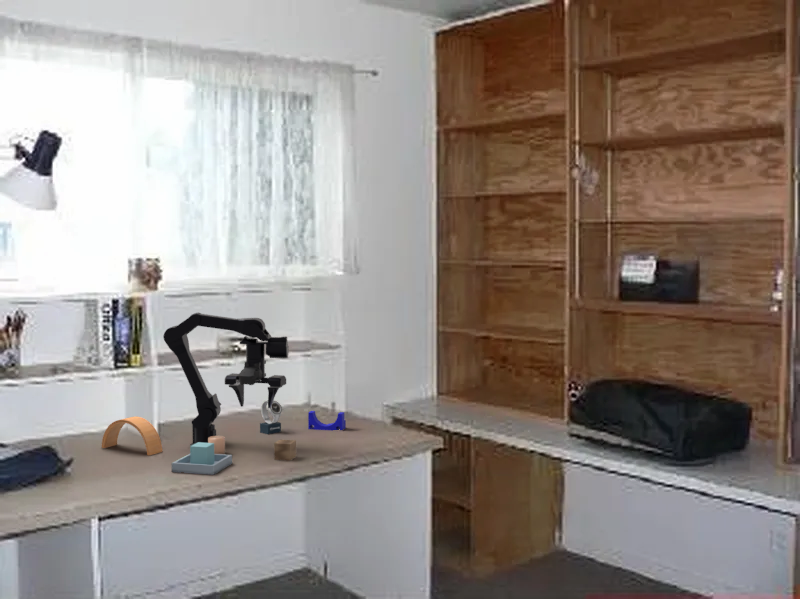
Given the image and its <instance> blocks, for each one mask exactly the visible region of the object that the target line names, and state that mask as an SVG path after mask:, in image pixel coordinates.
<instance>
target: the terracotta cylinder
mask: <svg viewBox="0 0 800 599" xmlns="http://www.w3.org/2000/svg"><path fill="white" fill-rule="evenodd" d="M208 443H214V454H225V455H226V437H225V436H224V435H216V436H211V437H208Z"/></svg>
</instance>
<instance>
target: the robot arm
mask: <svg viewBox="0 0 800 599" xmlns="http://www.w3.org/2000/svg"><path fill="white" fill-rule="evenodd" d="M197 327H203V328H211V329H217V330H218V329H219V330H225V331H233V332H236V333H238V334H240V335H244V337H243V338H242V340H241V341H239V345H246V346H245V352H246V353H245V354H246V355H245V357H246V358H245V361H244V366H243V368H242V369H241V370H240V372H239V373H235V372H234V373H232V372H231V373H229V374H227V375H226V376H225V377H224V385H228V387H229V388H231V389H232V390H233V391H234V392H235V394H236V397H237V399H238V402H239V405H240V407H242V408H243V407H244V403H245V402H244V401H245V385H249V386H253V385H255V384H268V385H269V386H267V390H268V391H267V392H268V394H267V395H268V396H267V400H268V403H267V409H268V408H270V407H271V405H272V402H273V400H275V397H276V395H277V393H278V391H279V389H281V388H283V387H284V386H286V385H287V377H286V376H285V375H283V374H282V375H278V374H274V375H271V376H269V377H267V373H266V371H265V369H266V368H265V366H266V365H265V364H267V360H265V357H266V356H265V355H267V356H268V357H269V359H289V349H290V348H289V342H288V336H272V335H271V334H270V332H269V331H268V330H267V329H266V323H265V321H264V320H263V319H262V318H260V317H242V318H233V317H227V316H221V315H220V316H219V315H212V314H207V313H206V314H205V313H201V312H195V313H193V314H192V313H191V315H190V316H188V317H187V318H186V319H185V320H183V321H182V322H181V323H179V324H177V325H174V326H171V327H169V328H167V329H166V330H165V331H164V334H163V340H164V342H165V344H166V346H167V347H168V348H169V350H170V351H171V352H172V353H173V354H174V355H175V356H176V358H177V360H178V361H179V364H180V366H181V368H182V370H183V373H184V376H185V377H186V379H187V382H188V384H189V386H190V389H191V391H192V393H193V395H194V397H195V405H196V411H197V413H198V415H197V416H196V417H194V419H193V420H192V421H191V425H192V426H191V427H192V432H191V433H192V435H191V436H192V442H191V443H189V447H190V446H192V445H194V444H196V443H198V442H202V443H208V437H211V436H217V429H215V428H216V426H215V424H214V422H215V420H216V419H217V418H218V417H219V415H220V414H221V411H222V410H221V405H222V403H221V402H220V401H219V398H218V395H217V393H214V394H212V393H211V392H210V391H209V390H208V388H207V386H206V383H205V381H204V379H203V377H202V375H201V373H200V371H199V368H198V366H197V364H196V362H195V359H194V357H193V355H192V352H191V350H190V343H189V337H188V335H189V333H191V332H192V331H193V330H194V329H196V328H197ZM249 337H250V338H249Z"/></svg>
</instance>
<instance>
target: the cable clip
mask: <svg viewBox="0 0 800 599" xmlns="http://www.w3.org/2000/svg"><path fill="white" fill-rule="evenodd" d="M307 414H308V415H307V416H308V420H307V423H308V425H307V426H308V430H316V431H317V430H318V431H333V430H339V429H340V430H343V429H344V430H345V429H346V426H347V425H346V419H345V412H343V411H342V412H341V411H340V412H338V413H337V418H336V420H335V422H332V423H331V422H330V423H327V424H326V423H323V422H321V421H320V420H319V419H318V417H317V415H316V411H315V410H310V411H309V412H307ZM344 430H343V431H344Z"/></svg>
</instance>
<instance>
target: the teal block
mask: <svg viewBox="0 0 800 599" xmlns="http://www.w3.org/2000/svg"><path fill="white" fill-rule="evenodd" d="M189 454H190V464H205V465H213V464H214V443H202V442H198V443H196V444H194V445H192V446H190V445H189Z"/></svg>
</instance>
